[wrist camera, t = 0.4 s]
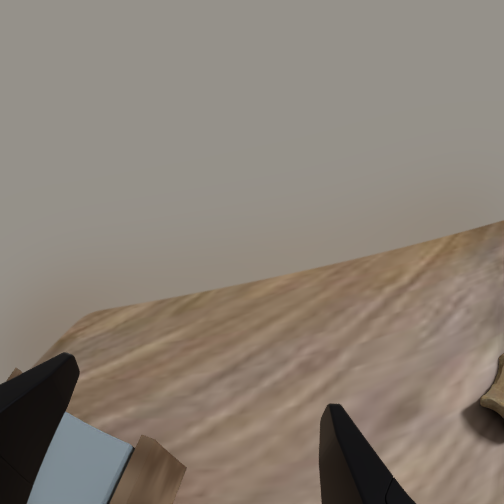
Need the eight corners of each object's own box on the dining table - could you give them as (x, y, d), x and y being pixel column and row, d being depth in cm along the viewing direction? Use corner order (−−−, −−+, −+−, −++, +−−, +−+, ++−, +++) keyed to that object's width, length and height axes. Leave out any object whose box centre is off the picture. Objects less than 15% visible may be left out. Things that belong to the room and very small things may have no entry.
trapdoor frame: (133, 599, 6) (82, 605, 3) (1, 500, 11) (-47, 472, 7) (186, 467, 18) (154, 439, 15) (53, 406, 23) (15, 367, 19)
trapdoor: (110, 576, 7) (69, 575, 5) (1, 489, 11) (-35, 468, 8) (157, 465, 17) (129, 444, 14) (46, 408, 20) (17, 379, 18)
